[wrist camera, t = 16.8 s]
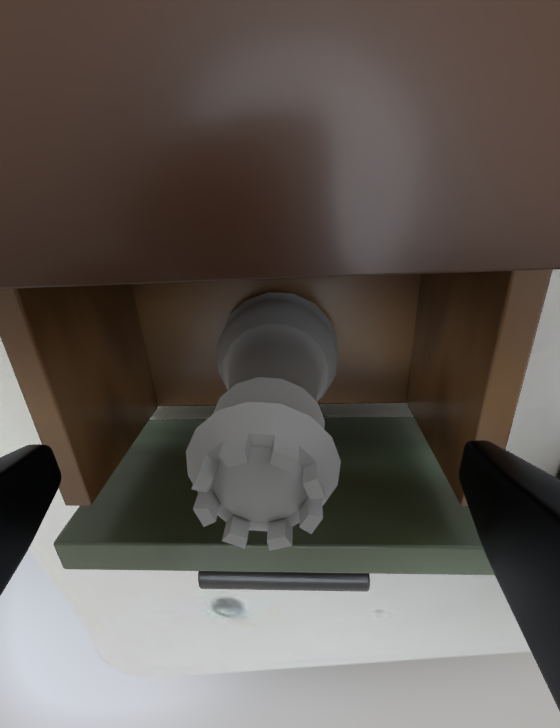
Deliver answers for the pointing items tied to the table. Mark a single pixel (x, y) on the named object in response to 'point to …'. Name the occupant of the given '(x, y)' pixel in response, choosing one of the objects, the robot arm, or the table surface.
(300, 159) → the cabinet
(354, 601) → the table surface
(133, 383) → the drawer
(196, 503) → the rook chess piece
